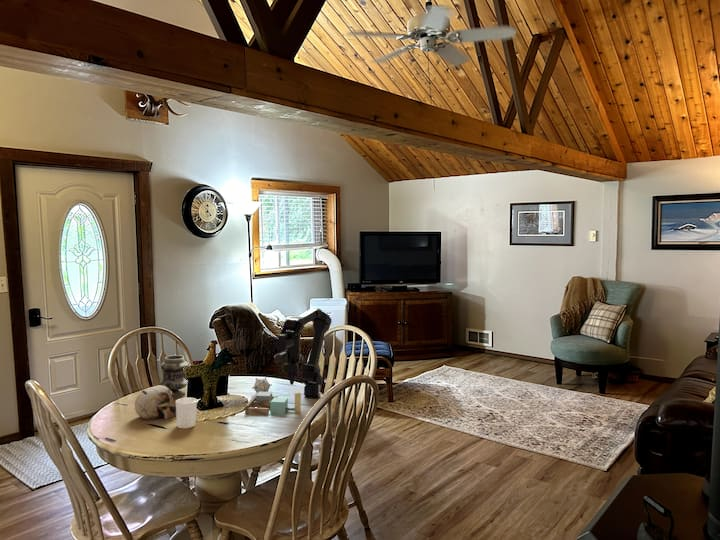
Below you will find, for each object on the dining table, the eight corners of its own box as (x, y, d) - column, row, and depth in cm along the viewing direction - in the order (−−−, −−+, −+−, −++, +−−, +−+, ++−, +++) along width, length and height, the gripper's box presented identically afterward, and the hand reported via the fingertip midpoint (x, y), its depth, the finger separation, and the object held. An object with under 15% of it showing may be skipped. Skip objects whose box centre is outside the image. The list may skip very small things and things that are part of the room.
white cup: (177, 430, 196) (177, 404, 195) (174, 423, 202) (174, 398, 202) (198, 427, 199) (198, 402, 199) (194, 420, 206) (194, 396, 206)
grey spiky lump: (264, 403, 241) (269, 390, 236) (247, 396, 241) (251, 383, 236) (271, 389, 249) (275, 376, 243) (255, 382, 249) (259, 369, 243)
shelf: (277, 401, 233) (277, 393, 233) (268, 414, 215) (268, 406, 215) (256, 400, 234) (256, 393, 233) (245, 413, 216) (245, 405, 215)
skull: (189, 410, 218) (186, 380, 216) (163, 428, 202) (160, 396, 200) (157, 407, 222) (154, 378, 220) (130, 425, 206) (126, 393, 204)
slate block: (272, 402, 231) (272, 392, 231) (269, 407, 225) (269, 396, 225) (259, 402, 232) (259, 391, 231) (255, 406, 226) (255, 395, 225)
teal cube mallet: (302, 410, 222) (302, 392, 221) (298, 414, 216) (299, 396, 215) (274, 408, 223) (274, 390, 223) (270, 413, 217) (270, 394, 217)
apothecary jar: (182, 399, 233) (182, 360, 232) (156, 398, 233) (156, 359, 232) (191, 391, 245) (191, 354, 244) (166, 390, 245) (166, 353, 244)
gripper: (279, 341, 235) (279, 375, 236) (271, 351, 216) (271, 387, 217) (303, 342, 234) (303, 375, 236) (297, 351, 216) (297, 388, 217)
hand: (293, 381), depth 226 cm, fingers open, 9 cm apart
